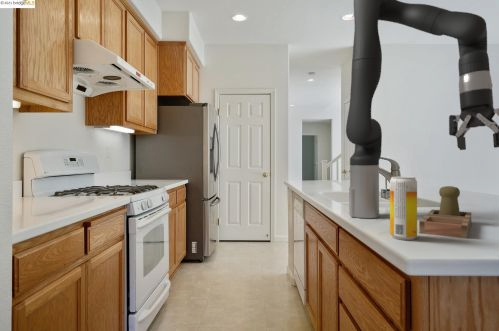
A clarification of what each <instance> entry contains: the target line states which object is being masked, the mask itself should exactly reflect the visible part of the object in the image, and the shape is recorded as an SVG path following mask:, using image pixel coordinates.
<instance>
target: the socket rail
mask: <svg viewBox="0 0 499 331" xmlns="http://www.w3.org/2000/svg"><path fill="white" fill-rule="evenodd" d="M439 210H440V209H431V210H430V211H429V212H428V213H426V215H424V217H422V218H421V219H420V220H419V222H418V223H419V224H418V226H419V231H418V232H419V234H424V235H425V234H427V235H434V236H442V237H452V238H461V239H468V237H469V236H468V235H469V232H470V229H471V226H472V212H470V211H460V216H451V215H439Z"/></svg>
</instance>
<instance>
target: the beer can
mask: <svg viewBox="0 0 499 331" xmlns="http://www.w3.org/2000/svg"><path fill="white" fill-rule="evenodd" d="M389 235H391V236H392V238H393V239H395V240H399V241H400V240H401V241H413V240H416V238H417V236H418V181H417V179H416V177H415V176H404V175H403V176H398V175H397V176H391V178H390V180H389Z"/></svg>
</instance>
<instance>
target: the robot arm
mask: <svg viewBox="0 0 499 331" xmlns="http://www.w3.org/2000/svg"><path fill="white" fill-rule="evenodd" d="M353 16H354V17H353V19H354V32H353V33H354V34H353V46H352V58H351V59H352V60H351V76H350V77H351V80H350V82H351V83H350V93H349V94H350V98H349V108H348V113H347V118H346V119H347V121H346V126H345V134H346V137H347V140H348V141H349V142H350V143H352V144H354V152H353V154H352V155H351V156H350V158H349V188H348V192H349V199H348V200H349V205H348V206H349V208H348V210H349V211H348V212H349V215H350V217H351V218H358V219H376V218H379V217H380V160H381V156H382V145H383V144H382V140H383V139H382V136H383V132H382V126H381V124H380V122H378V120H376V119H374V118H372V104H373V103H372V102H373V98H374V95H375V92H376V90H377V88H378V86H379V82H380V81H381V80H380V79H381V76H382V61H383V58H382V57H383V54H382V45H381V39H380V34H379V21H384V22H388V23H389V22H390V23H394V24H395V23H396V24H399V25H404V26H406V27H408V28H409V27H410V28H412V29H415V30H417V31H421V32H424V33H426V34H430V35H433V36H440V37H441V36H446V37H451V38H453V39H456V40H457V46H458V55H459V59H458V64H457V65H458V77H459V78H458V92H459V93H458V94H459V107H460V114H451V115H449V116H448V134H449V135H450V136H451V137H452V136H453V137H455V138H456V145H457V149H459V150H460V151H465V150H466V149H467V142H466V136H465V135H466V134H467V132H468V131H470V129H471V128H478V127H487V128H489V129H490V130H491V131H492V132H493V134H492V140H493V143H492V144H493V148H494V149H497V148H499V124H498V123H497V122H496V121H495V120H494V119H493V118H494V116H495V115H496V116H498V117H499V108H494V96H493V83H492V82H493V81H492V76H491V71H490V59H489V54H488V30H487V28H488V27H487V22H486V19H485V18H484V17H482V16H480V15H478V14H476V13H472V12H467V11H456V10H455V11H452V10H448V9H446V8H444V7H442V8H441V7H439V6H434V5H431V4H426V3H410V2H409V3H408V2H403V1H401V0H353ZM460 120H461V121H462V123H461V124H460V126H459V122H460Z"/></svg>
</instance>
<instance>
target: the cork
mask: <svg viewBox="0 0 499 331" xmlns="http://www.w3.org/2000/svg"><path fill="white" fill-rule="evenodd" d="M438 193H439V196H440V197H441V198H440V204H439V209H438V210H439V215H451V216H460V212H461V211H460V206H459V197H460V195H461V190H460V189H459V187H456V186H454V185H453V186H451V185H450V186H448V185H447V186H442V187H440V188H439V191H438Z"/></svg>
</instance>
